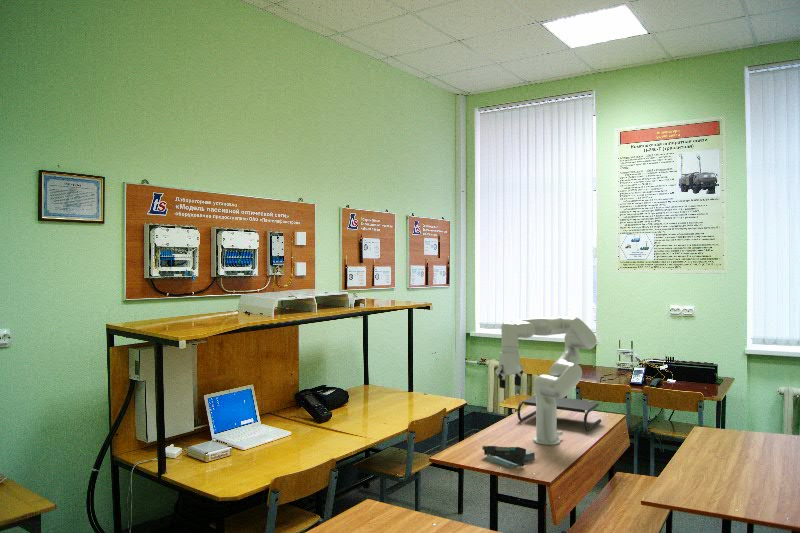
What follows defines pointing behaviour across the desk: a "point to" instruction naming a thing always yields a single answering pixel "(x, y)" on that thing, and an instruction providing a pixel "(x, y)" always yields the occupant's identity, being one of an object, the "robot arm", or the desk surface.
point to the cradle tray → (502, 461)
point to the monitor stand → (565, 408)
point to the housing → (529, 456)
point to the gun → (506, 453)
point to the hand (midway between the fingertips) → (510, 386)
